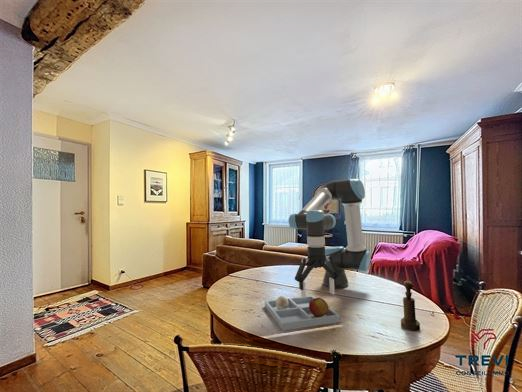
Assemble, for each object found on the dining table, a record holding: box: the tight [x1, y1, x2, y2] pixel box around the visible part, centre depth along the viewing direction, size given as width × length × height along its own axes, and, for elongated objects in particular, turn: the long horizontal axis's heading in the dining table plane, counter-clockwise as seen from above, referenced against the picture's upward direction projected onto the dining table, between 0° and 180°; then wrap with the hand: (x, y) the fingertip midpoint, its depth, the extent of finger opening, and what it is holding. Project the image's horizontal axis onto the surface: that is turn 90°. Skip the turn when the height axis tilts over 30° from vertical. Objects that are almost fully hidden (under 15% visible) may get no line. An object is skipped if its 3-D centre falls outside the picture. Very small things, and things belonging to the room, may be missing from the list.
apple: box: [309, 297, 330, 317], centre depth 107 cm, size 8×8×8 cm
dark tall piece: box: [400, 280, 421, 332], centre depth 99 cm, size 7×6×18 cm
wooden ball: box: [275, 295, 289, 310], centre depth 116 cm, size 6×6×6 cm
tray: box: [264, 295, 341, 333], centre depth 111 cm, size 25×25×4 cm
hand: (318, 295), depth 108 cm, fingers open, 13 cm apart
